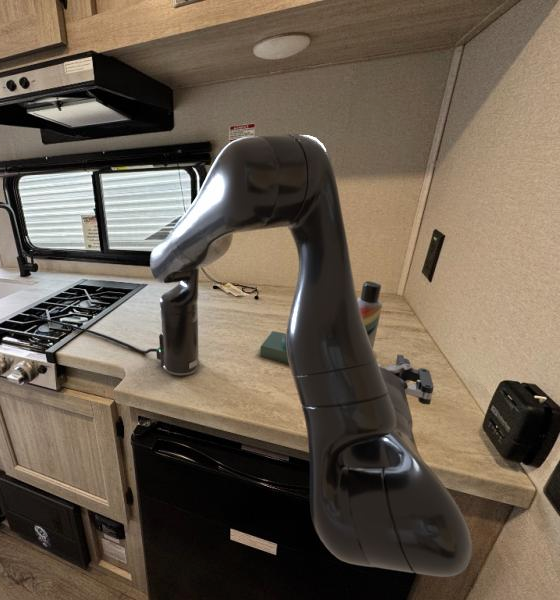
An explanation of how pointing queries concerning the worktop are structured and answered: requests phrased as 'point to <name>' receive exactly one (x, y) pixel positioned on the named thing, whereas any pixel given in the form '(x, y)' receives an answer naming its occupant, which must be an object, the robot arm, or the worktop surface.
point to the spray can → (370, 308)
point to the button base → (275, 347)
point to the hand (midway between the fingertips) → (367, 355)
